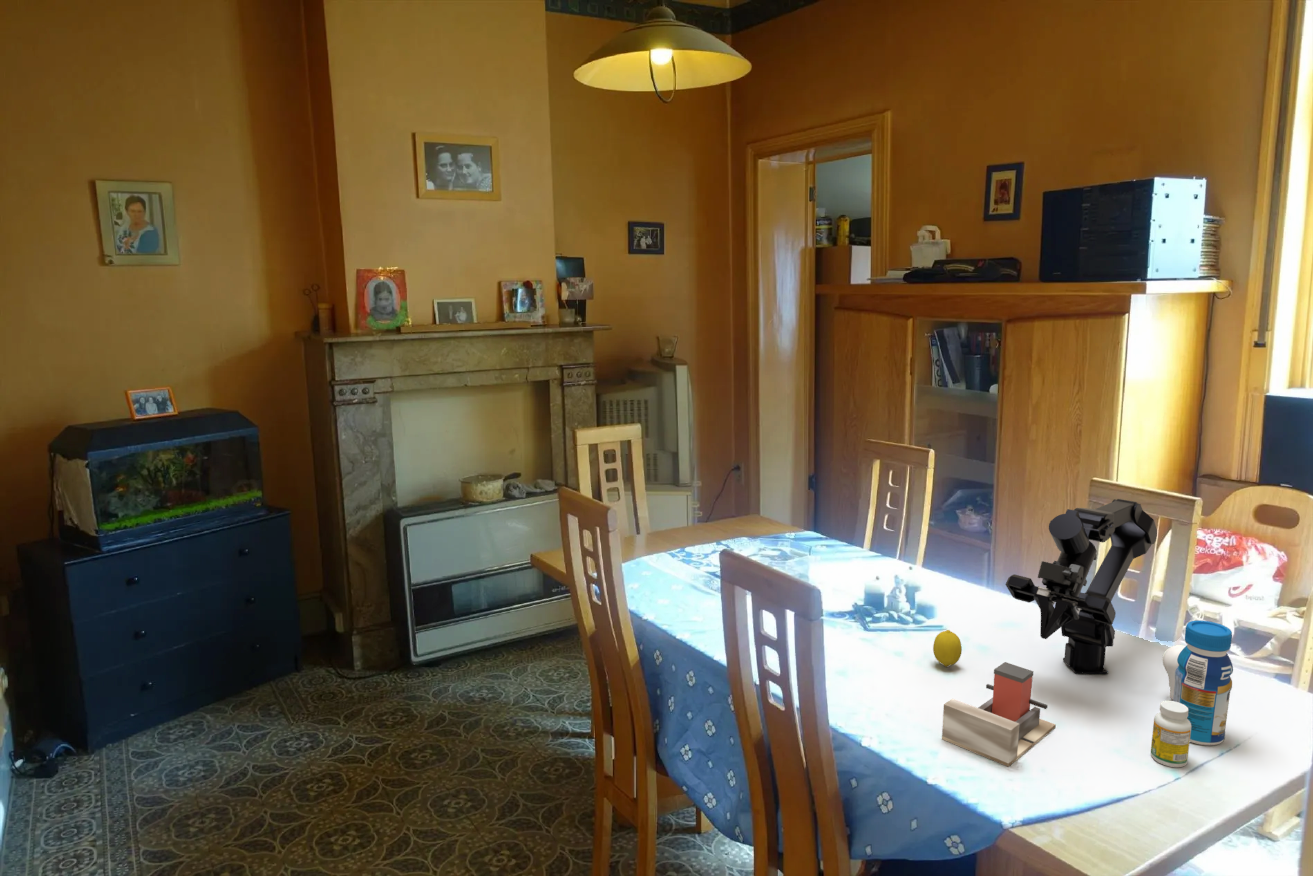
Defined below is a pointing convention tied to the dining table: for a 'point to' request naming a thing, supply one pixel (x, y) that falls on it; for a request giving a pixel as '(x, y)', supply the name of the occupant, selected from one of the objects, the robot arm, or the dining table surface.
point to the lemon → (947, 648)
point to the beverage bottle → (1205, 680)
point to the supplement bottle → (1171, 734)
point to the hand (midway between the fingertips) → (1043, 637)
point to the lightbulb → (1172, 664)
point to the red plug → (1012, 691)
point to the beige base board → (992, 731)
